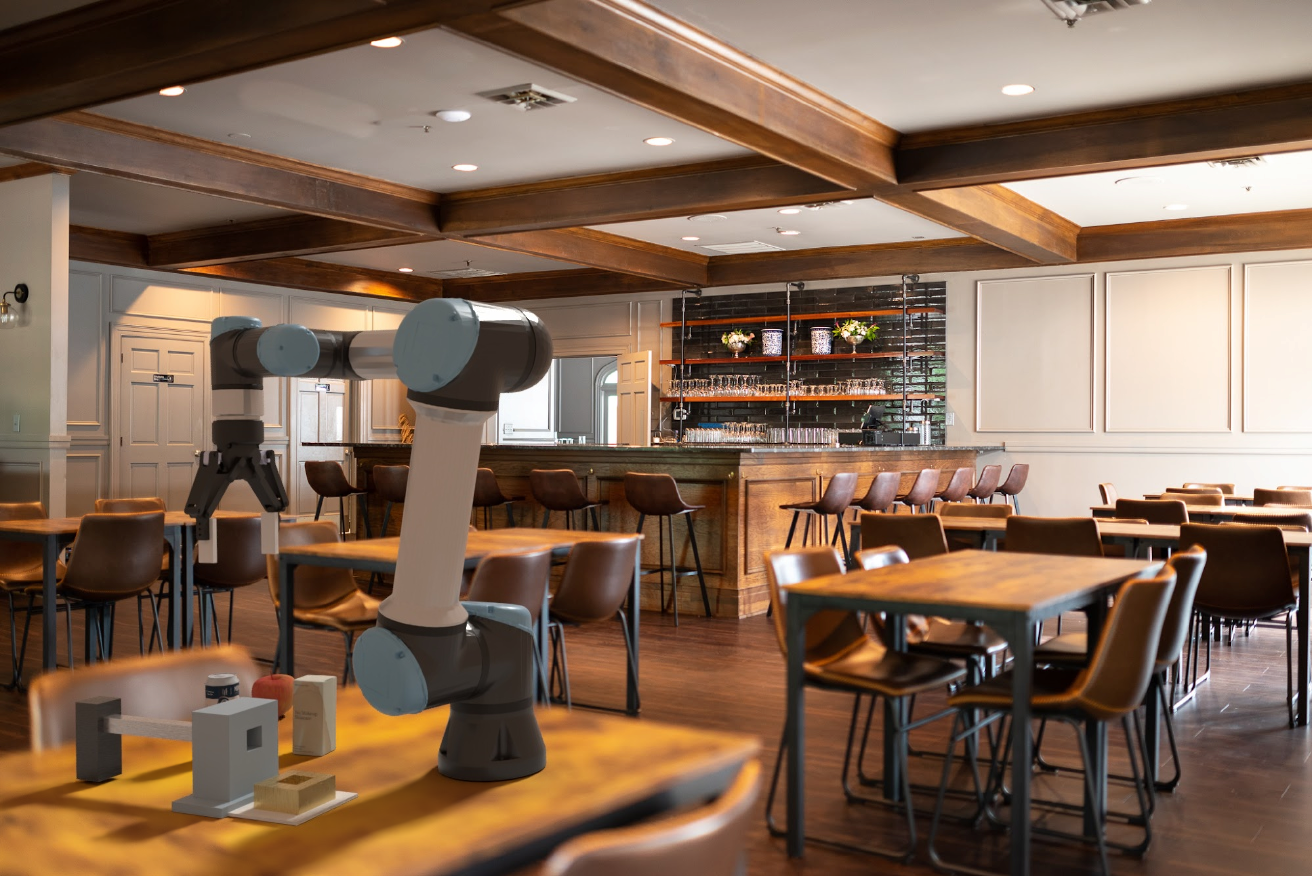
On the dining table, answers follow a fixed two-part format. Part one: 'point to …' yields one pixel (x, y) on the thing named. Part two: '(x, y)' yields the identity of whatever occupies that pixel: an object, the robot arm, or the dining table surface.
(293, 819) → the mat
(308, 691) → the box
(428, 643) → the robot arm
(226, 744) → the bearing block
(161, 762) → the dining table surface
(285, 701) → the apple
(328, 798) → the collar
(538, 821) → the dining table surface
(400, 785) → the dining table surface
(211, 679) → the beer can
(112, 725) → the shaft
